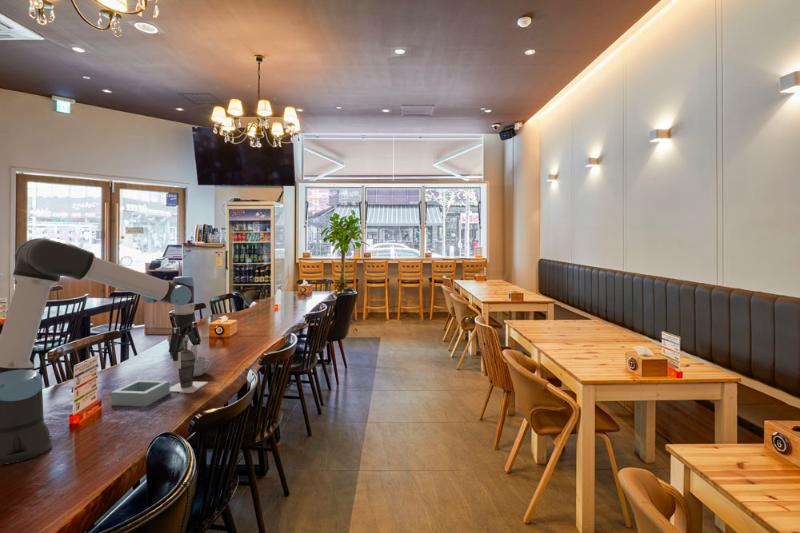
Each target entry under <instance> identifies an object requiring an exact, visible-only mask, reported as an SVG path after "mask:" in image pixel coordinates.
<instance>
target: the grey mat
mask: <svg viewBox="0 0 800 533" xmlns="http://www.w3.org/2000/svg"><path fill="white" fill-rule="evenodd" d="M207 384H209V382H208V381H195V380H193V384H192V386H191V387H188V388H181V385H180V382H178V383H175V384H174V385H172V386H170V393H177V392H179V394H180V393H182V394H193V393H194V392H196V391H198V390H200V389H201V388H202V387H205V386H206V385H207Z"/></svg>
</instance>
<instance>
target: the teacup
mask: <svg viewBox="0 0 800 533" xmlns="http://www.w3.org/2000/svg"><path fill="white" fill-rule="evenodd" d="M211 365H212V362H211V361H210V359H208V356H205V355H198V360H195V363H194V375H193V377H199V376H203V375H204V374H205V373H206V371H207V370H209V369H210V367H211Z"/></svg>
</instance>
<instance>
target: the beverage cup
mask: <svg viewBox="0 0 800 533" xmlns="http://www.w3.org/2000/svg"><path fill="white" fill-rule="evenodd" d="M183 346H184V350H183V351H181V352H180V356H181V368H180V369H177V370H178V377H179V383H180V385H181V388H188V387H191V386H192V384H193V381H194V376H193V375H194V363H195V359H196V358H195V354H194V353H193V352H192V351H191V349H187V350H185V343H184V339H183Z"/></svg>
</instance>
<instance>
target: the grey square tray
mask: <svg viewBox="0 0 800 533" xmlns="http://www.w3.org/2000/svg"><path fill="white" fill-rule="evenodd" d="M170 387H171V386H170V380H145V379H144V380H143V379H142V380H141V379H139V380H138V379H136V380H134V381H133V382H131V383H128V384H126V385H123V386H122V387H119V388H118V389H114V390H113V391H111V392H110V400H111V401H110V402H111V403H110V404H111V406H125V407H144V408H145V407H148V406H149V405H151V404H153V403H155V402H157V401H159V400H160V399H162V398H164V397H166V396H167V395H170V393H171V392H170ZM158 399H159V400H158Z"/></svg>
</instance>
